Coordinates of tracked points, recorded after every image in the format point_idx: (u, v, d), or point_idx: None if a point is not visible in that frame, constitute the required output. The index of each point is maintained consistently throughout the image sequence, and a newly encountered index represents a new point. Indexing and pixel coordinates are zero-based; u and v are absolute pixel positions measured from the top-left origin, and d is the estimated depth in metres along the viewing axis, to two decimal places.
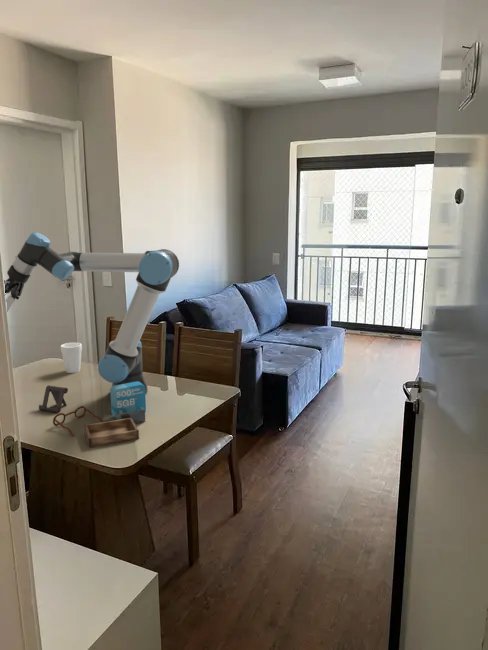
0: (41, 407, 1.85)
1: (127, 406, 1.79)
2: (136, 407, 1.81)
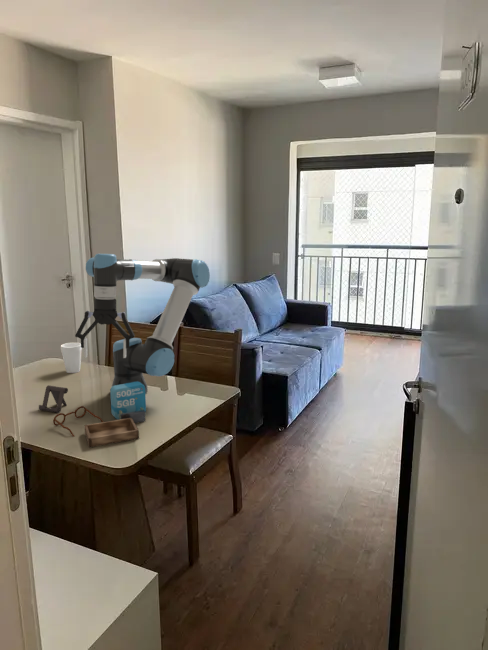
0: (41, 407, 1.85)
1: (127, 406, 1.79)
2: (136, 407, 1.81)
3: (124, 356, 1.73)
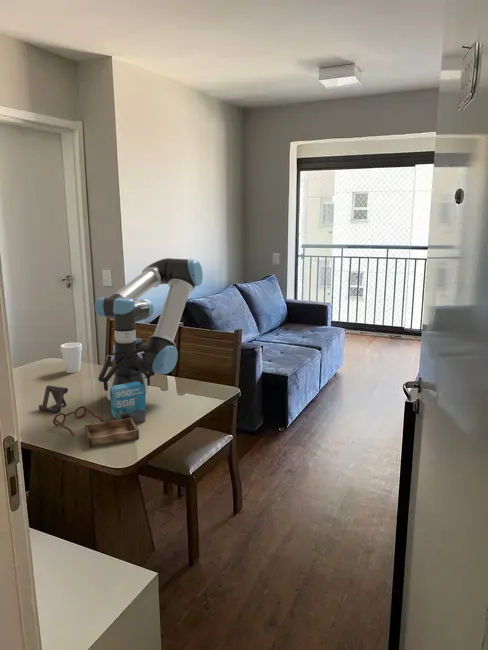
0: (41, 407, 1.85)
1: (127, 406, 1.79)
2: (136, 407, 1.81)
3: (146, 393, 1.82)
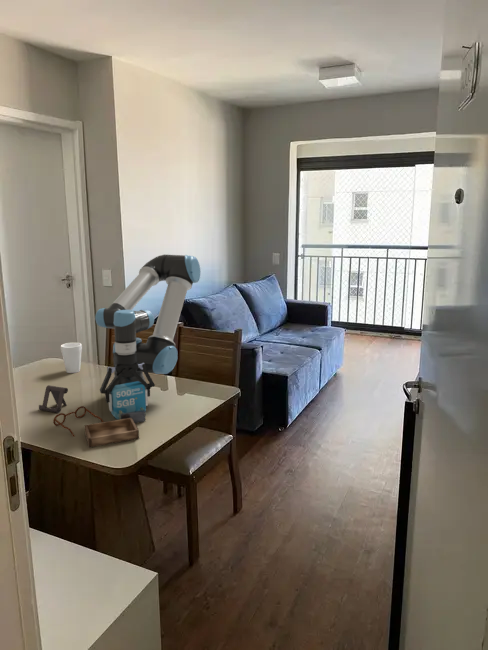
0: (41, 407, 1.85)
1: (127, 406, 1.79)
2: (136, 407, 1.81)
3: (146, 404, 1.83)
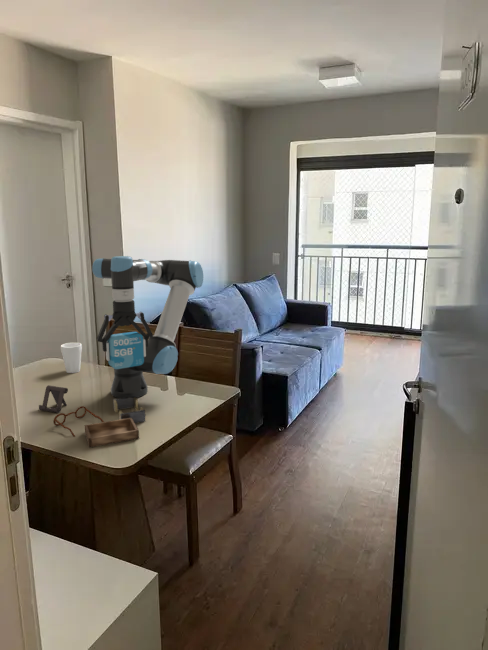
0: (41, 407, 1.85)
1: (124, 356, 1.74)
2: (134, 357, 1.76)
3: (144, 355, 1.79)
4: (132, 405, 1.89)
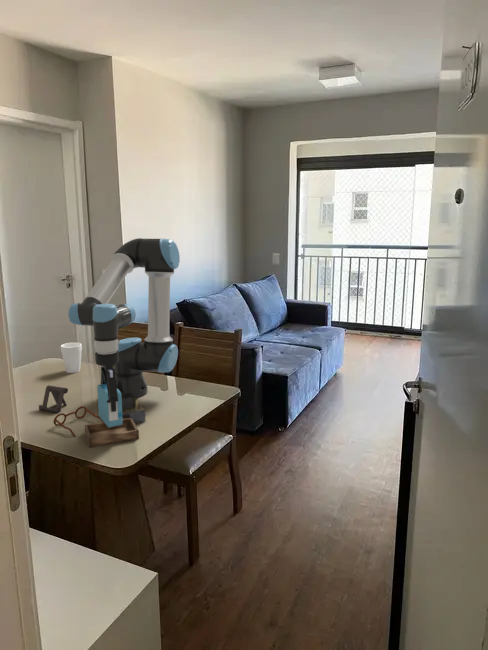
0: (41, 407, 1.85)
1: None
2: None
3: None
4: (132, 405, 1.89)
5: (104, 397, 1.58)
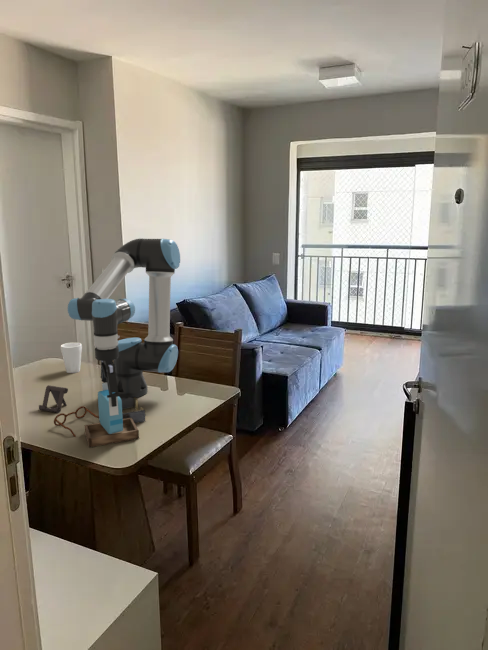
0: (41, 407, 1.85)
1: None
2: None
3: None
4: (132, 405, 1.89)
5: (104, 404, 1.59)
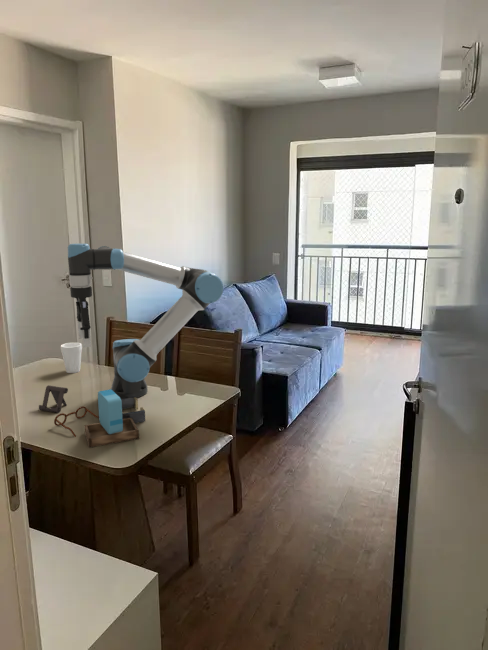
0: (41, 407, 1.85)
1: None
2: None
3: None
4: (132, 405, 1.89)
5: (104, 404, 1.59)
